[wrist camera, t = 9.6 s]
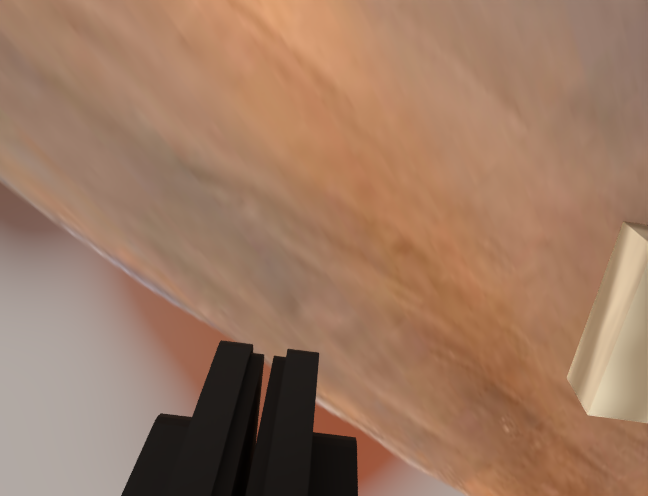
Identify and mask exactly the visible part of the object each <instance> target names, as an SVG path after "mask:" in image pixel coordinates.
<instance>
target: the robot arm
mask: <svg viewBox="0 0 648 496" xmlns="http://www.w3.org/2000/svg"><path fill="white" fill-rule="evenodd" d="M318 362H319V353H317V352H309V351H301V350H293V349H288V350H287V356H286V357H280V356H274V358H273V363H272V368H271V373H270V378H269V382H268V387H267V392H266V397H265V402H264V407H263V412H262V417H261V422H260V427H259V432H258V436H257V426H258V416H259V405H260V396H261V386H262V374H263V365H264V354H256V353H253V344H246V343H238V342H230V341H220V343H219V346H218V348H217V351H216V353H215V356H214V359H213V362H212V364H211V367H210V370H209V373H208V375H207V378H206V381H205V383H204V386H203V389H202V392H201V394H200V397H199V400H198V403H197V405H196V408H195V411H194V414H193V416H192V417H186V416H178V415H170V414H160V415H158V417H157V418H156V420H155V422H154V424H153V426H152V428H151V431H150V433H149V435H148V437H147V440H146V442H145V444H144V446H143V448H142V451H141V453H140V455H139V457H138V460H137V462H136V464H135V466H134V469H133V471H132V473H131V475H130V477H129V479H128V482H127V484H126V486H125V488H124V491H123V493H122V495H121V496H358V479H357V441H356V438H355V437H347V436H339V435H332V434H322V433H315V432H313V423H314V411H315V399H316V387H317V374H318ZM256 436H257V441H256Z"/></svg>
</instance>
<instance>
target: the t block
mask: <svg viewBox="0 0 648 496" xmlns="http://www.w3.org/2000/svg"><path fill="white" fill-rule="evenodd" d="M567 379H568V381H569V383H570V385H571V386H572V388H573V390H574V392H575V394H576V395H577V397H578V399H579V401H580V402H581V404H582V406H583V408H584V409H585V411H586V413H587V415H591V416H598V417H606V418H613V419H621V420H628V421H636V422H643V423H648V225H645V224H638V223H631V222H623V224H622V227H621V230H620V232H619V235H618V238H617V241H616V243H615V246H614V249H613V252H612V254H611V257H610V260H609V263H608V265H607V268H606V271H605V274H604V276H603V279H602V282H601V285H600V288H599V290H598V293H597V296H596V299H595V301H594V304H593V307H592V310H591V312H590V315H589V318H588V321H587V323H586V326H585V329H584V332H583V334H582V337H581V340H580V343H579V346H578V348H577V351H576V354H575V357H574V359H573V362H572V365H571V368H570V370H569V373H568V376H567Z"/></svg>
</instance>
